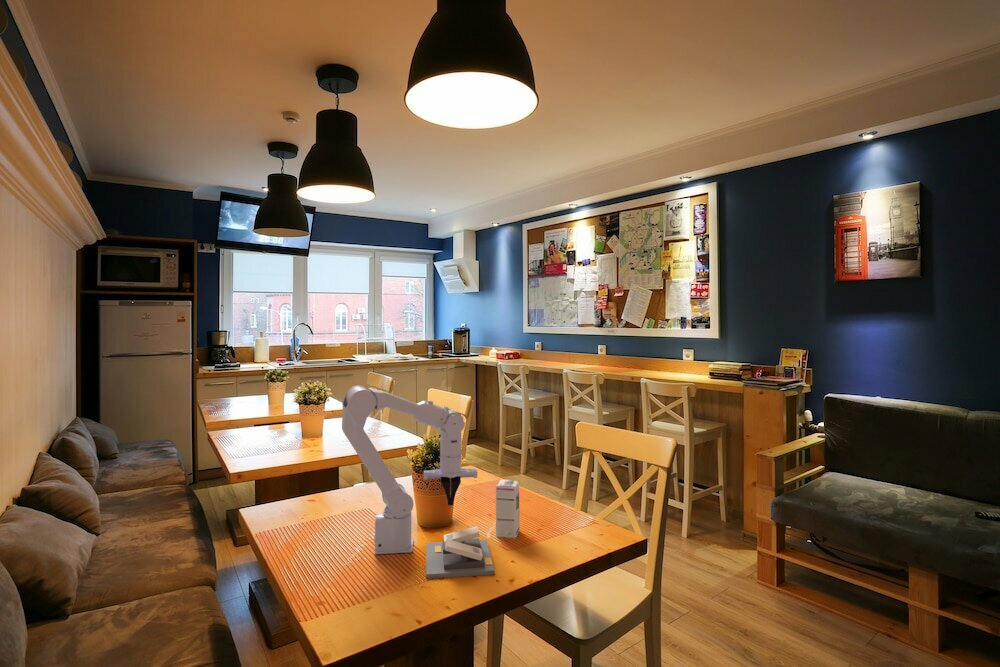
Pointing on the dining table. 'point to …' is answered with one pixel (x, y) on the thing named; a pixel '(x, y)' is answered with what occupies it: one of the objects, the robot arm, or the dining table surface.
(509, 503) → the syrup box
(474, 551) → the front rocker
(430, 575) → the switch board
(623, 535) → the dining table surface
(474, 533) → the back rocker
